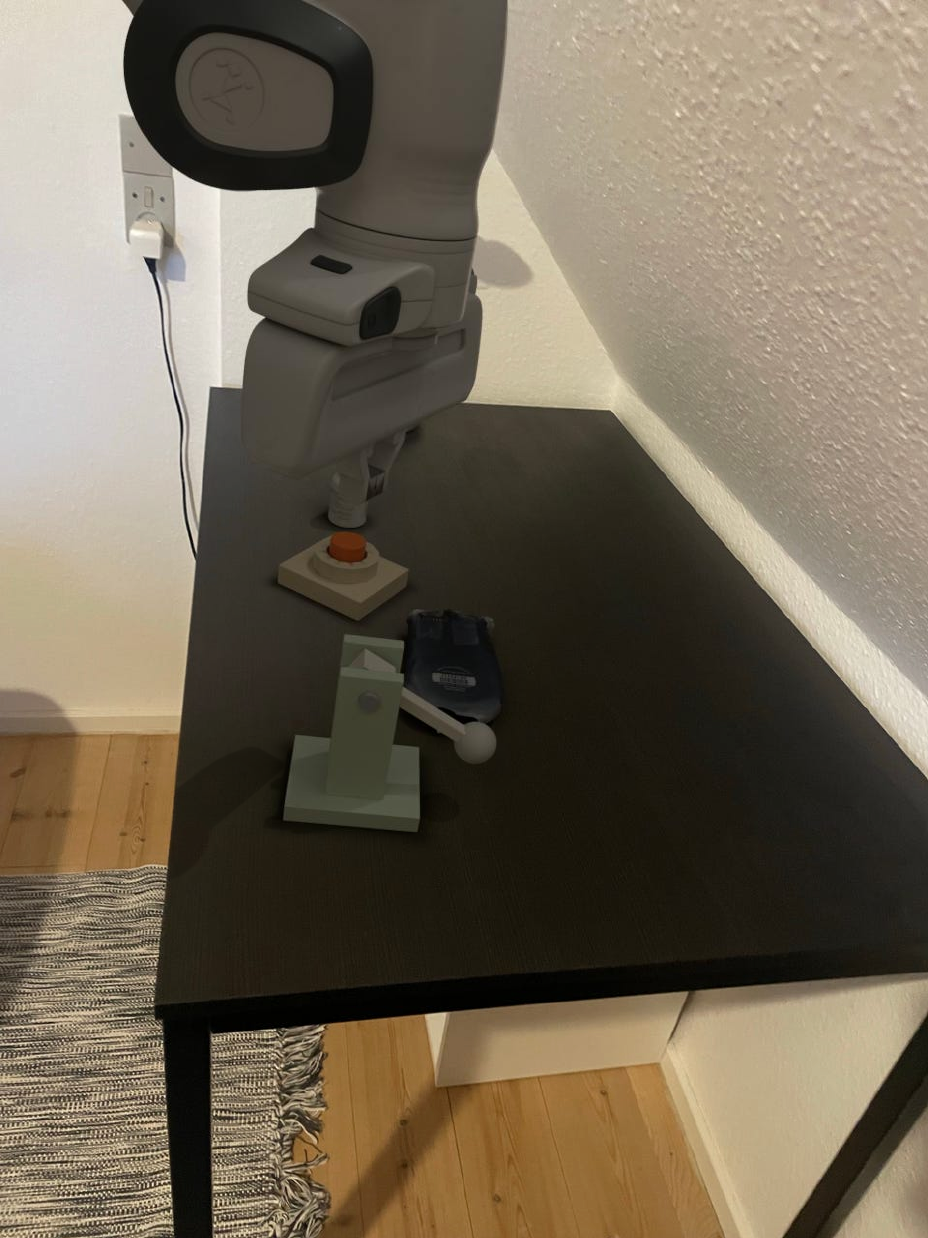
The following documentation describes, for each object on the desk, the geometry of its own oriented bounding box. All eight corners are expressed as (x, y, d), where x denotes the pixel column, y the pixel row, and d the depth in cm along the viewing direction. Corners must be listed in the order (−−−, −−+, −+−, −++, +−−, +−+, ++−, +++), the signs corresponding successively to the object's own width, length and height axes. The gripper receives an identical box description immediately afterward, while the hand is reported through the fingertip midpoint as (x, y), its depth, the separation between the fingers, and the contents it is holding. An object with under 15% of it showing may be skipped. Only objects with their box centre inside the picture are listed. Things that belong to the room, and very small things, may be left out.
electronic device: (392, 645, 93) (398, 727, 80) (407, 595, 91) (416, 671, 78) (481, 665, 95) (503, 747, 82) (498, 617, 93) (523, 693, 80)
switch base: (416, 760, 78) (441, 633, 71) (417, 832, 71) (444, 700, 64) (293, 748, 76) (307, 617, 69) (282, 820, 70) (296, 684, 63)
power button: (321, 554, 95) (323, 539, 95) (342, 542, 98) (344, 527, 97) (351, 568, 94) (353, 552, 93) (371, 555, 97) (373, 540, 96)
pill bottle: (351, 508, 113) (358, 448, 109) (372, 525, 110) (381, 464, 106) (320, 514, 110) (326, 453, 106) (341, 532, 108) (349, 470, 103)
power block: (277, 583, 96) (280, 549, 94) (329, 552, 103) (333, 519, 101) (357, 621, 93) (362, 587, 91) (406, 586, 100) (411, 554, 98)
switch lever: (476, 751, 74) (503, 726, 73) (478, 779, 72) (506, 754, 70) (342, 668, 69) (369, 640, 68) (339, 695, 67) (367, 666, 65)
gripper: (436, 241, 62) (406, 437, 69) (224, 281, 46) (215, 530, 53) (521, 267, 60) (481, 466, 67) (330, 318, 44) (305, 572, 51)
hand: (362, 496), depth 60 cm, fingers closed
